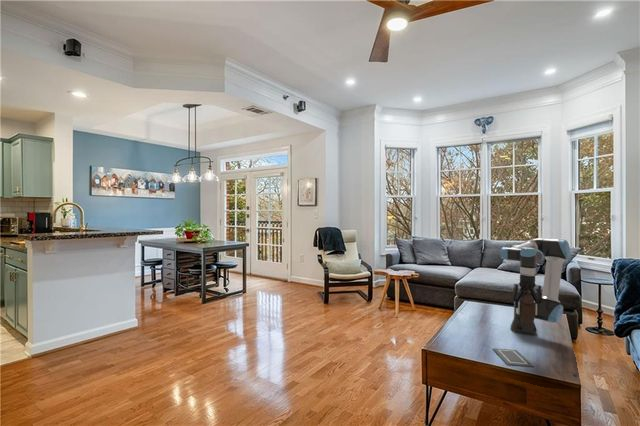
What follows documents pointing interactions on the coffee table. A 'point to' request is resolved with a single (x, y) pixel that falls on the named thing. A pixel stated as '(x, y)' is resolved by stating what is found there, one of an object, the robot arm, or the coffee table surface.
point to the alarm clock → (527, 307)
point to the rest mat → (512, 357)
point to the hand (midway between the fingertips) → (526, 314)
